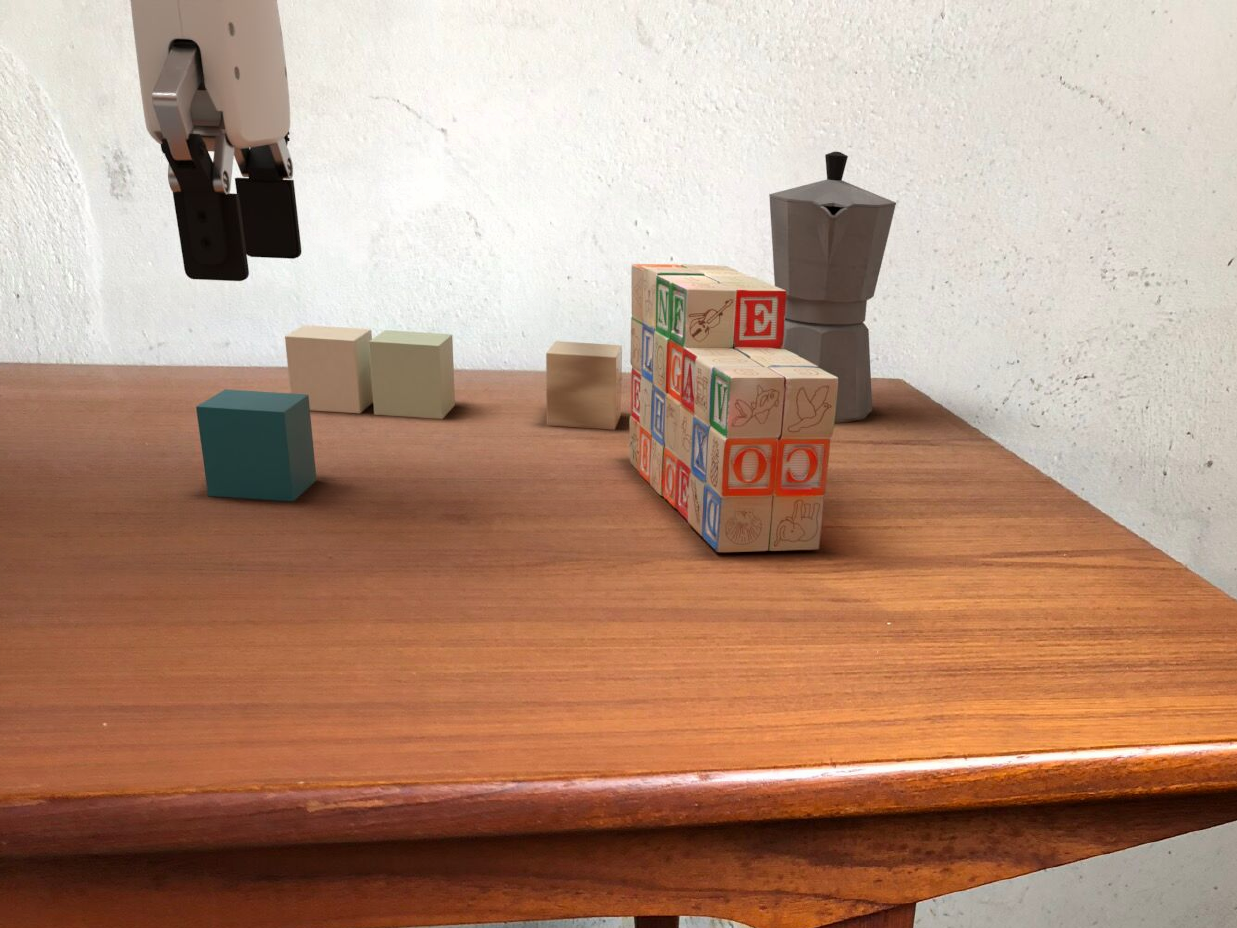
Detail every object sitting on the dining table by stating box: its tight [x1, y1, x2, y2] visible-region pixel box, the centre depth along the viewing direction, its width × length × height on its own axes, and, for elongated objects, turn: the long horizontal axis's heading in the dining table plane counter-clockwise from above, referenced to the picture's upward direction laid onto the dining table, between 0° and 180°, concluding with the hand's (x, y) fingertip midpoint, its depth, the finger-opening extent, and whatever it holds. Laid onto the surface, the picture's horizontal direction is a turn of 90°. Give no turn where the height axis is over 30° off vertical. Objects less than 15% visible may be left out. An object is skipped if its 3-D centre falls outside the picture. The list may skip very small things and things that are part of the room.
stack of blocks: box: [629, 263, 838, 553], centre depth 82 cm, size 21×6×12 cm, turn 16°
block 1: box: [284, 324, 373, 415], centre depth 102 cm, size 5×5×5 cm
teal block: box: [195, 388, 317, 503], centre depth 82 cm, size 5×5×5 cm
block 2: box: [369, 329, 456, 420], centre depth 102 cm, size 5×5×5 cm
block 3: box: [545, 340, 623, 431], centre depth 102 cm, size 5×5×5 cm
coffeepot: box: [768, 151, 897, 424], centre depth 107 cm, size 15×9×18 cm, turn 177°
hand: (247, 267), depth 77 cm, fingers open, 9 cm apart
